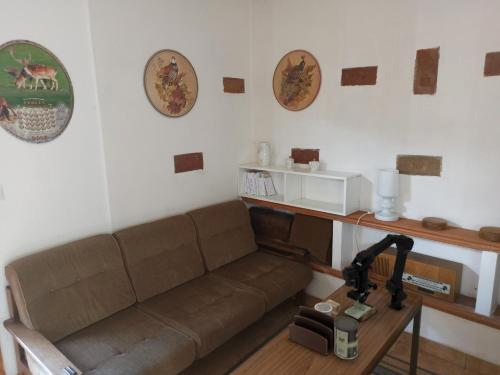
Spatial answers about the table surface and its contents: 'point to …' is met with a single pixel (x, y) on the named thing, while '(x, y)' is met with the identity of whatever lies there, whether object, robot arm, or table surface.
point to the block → (334, 307)
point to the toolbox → (368, 313)
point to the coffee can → (346, 337)
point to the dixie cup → (324, 308)
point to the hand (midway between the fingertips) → (361, 305)
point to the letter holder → (313, 330)
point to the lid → (357, 310)
